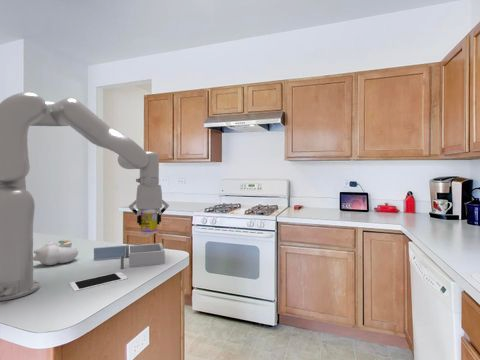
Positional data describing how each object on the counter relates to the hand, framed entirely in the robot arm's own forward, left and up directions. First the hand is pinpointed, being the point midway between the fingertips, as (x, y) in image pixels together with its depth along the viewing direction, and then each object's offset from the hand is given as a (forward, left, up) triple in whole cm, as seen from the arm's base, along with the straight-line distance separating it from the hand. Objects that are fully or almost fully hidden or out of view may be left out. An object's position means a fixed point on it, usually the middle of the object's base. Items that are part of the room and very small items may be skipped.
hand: (149, 224), depth 114 cm
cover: (+7, +15, -15) cm, 22 cm away
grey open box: (-1, +2, -15) cm, 15 cm away
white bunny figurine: (+7, +35, -15) cm, 38 cm away
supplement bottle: (0, 0, -4) cm, 4 cm away
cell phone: (-18, +17, -16) cm, 29 cm away
